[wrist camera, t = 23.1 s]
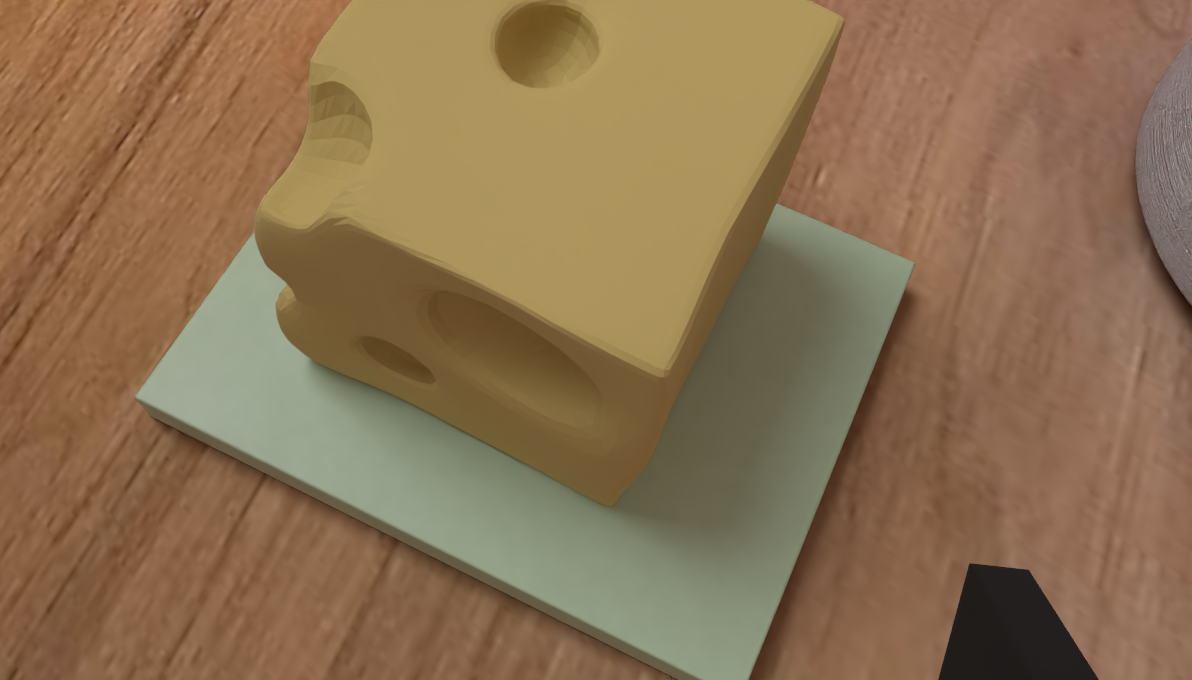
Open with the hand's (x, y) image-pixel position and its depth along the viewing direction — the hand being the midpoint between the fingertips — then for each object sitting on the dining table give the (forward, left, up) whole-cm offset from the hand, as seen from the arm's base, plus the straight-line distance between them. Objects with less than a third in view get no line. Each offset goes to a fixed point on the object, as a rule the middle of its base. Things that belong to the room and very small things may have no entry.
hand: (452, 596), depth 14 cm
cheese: (-4, +11, -14) cm, 18 cm away
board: (-3, +10, -15) cm, 19 cm away
